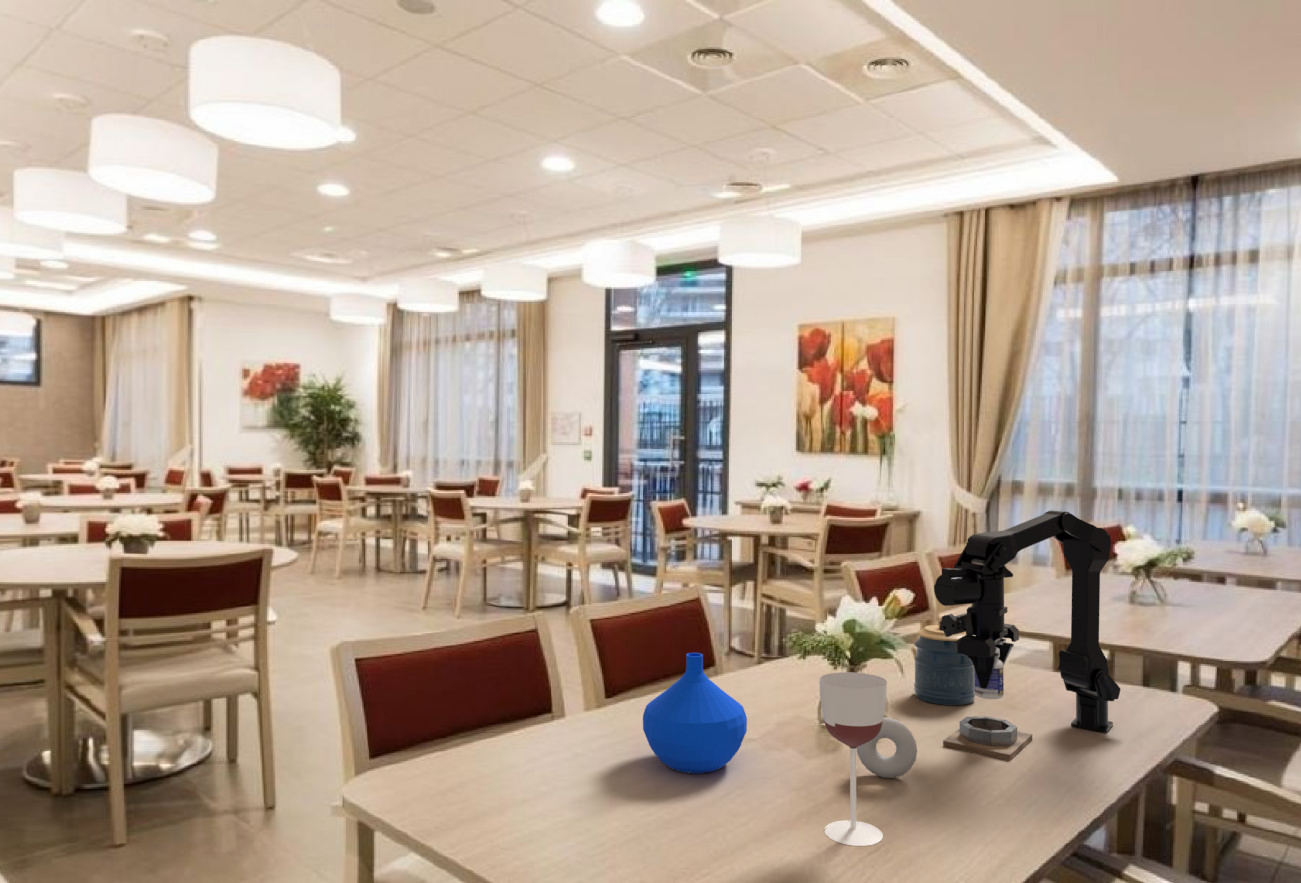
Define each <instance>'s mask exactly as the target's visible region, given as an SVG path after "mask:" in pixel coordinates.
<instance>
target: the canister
mask: <svg viewBox="0 0 1301 883" xmlns="http://www.w3.org/2000/svg"><path fill="white" fill-rule="evenodd" d="M941 619H942V618H940V619H939V620H938V622H937V624H931V625H926V626H924V627H923V628H922V629H920V630H919V631H917V634H918V636H919V637H918V638H917V639H916V640H915V641H914V642H913V645H914V647H915V648H916V651H915V655H916V657H915V655H914V657H913V660H914V683H913V686H914V687H913V690H914V694H915V697H916V698H918V699H919V700H922V701H924V702H926V703H931V704H935V705H943V706H963V705H968V704H972V703H973V702H974V701H975V699H976V698H975V697H976V695H975V694H974V665H973V663H972V660H971V659H970V658H969V657H967V656H966V655H964V654H959V653H956V652H955V642H956V641H957V640H958V639H960V638H961V637H963V636H965V635H966V632H962V633H958V634H953V635H952V636H949V637H945V634H944V632H943V631H942V630H940V629H939V627H940V621H941Z"/></svg>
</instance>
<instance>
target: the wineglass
mask: <svg viewBox="0 0 1301 883" xmlns="http://www.w3.org/2000/svg"><path fill="white" fill-rule="evenodd" d="M887 689H888V681H887V680H886V679H885V678H883V677H881V676H879V675H876V674H875V675H874V674H870V673H863V672H853V671H852V672H850V671H848V672H844V671H843V672H841V671H840V672H832V673H827V674H823V675H821V676H819V698H820V705H821V710H822V717H823V722H824V724H825V725H824V726H825V729H826V730H827V732H828V733H829V734H830V735H831V737H832V738H834V739H836V740H837V741H838V742H840V743H842V744H845V745H846V746H848V747H849V752H850V753H849V754H850V755H849V762H850V763H849V764H850V765H849V767H850V768H849V770H850V771H849V775H850V776H849V780H850V782H849V784H850V785H849V787H850V788H849V790H850V791H849V793H850V795H849V796H850V800H849V802H850V803H849V804H850V805H849V808H850V809H849V813H850V814H849V817H850V818H849V820H844V819H843V820H837V821H833V822H830V823H829V824H827V825H826V826H825V827H824V829H825V828H826V829H825V831H824V830H823V831H824V834H825V835H826V837H828V839H831V840H832V841H834V842H836V843H840V844H843V845H848V846H854V847H855V846H856V847H864V846H873V845H876V844H878V843H880V841H882V840H883V837H884V835H883V832H882V830H880V829H879V828H878V827H876V826H875V825H872V824H871V823H867V822H863V821H860V820H859V821H857V747H858V746H860V745H862V744H865V743H867V742H869V741H871V740H872V739H874V738H875V737H876V736H877V735H878V734H879V732H880V730H881V727H882V723H883V717H885V711H886V704H887V703H886V702H887V691H888V690H887Z"/></svg>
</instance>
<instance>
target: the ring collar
mask: <svg viewBox="0 0 1301 883" xmlns="http://www.w3.org/2000/svg"><path fill="white" fill-rule="evenodd" d="M959 729H960V736H962V737H963V738H964V739H966V740H967V741H969V742H972V743H977V744H982V745H986V746H1011V745H1012V744H1013V743H1015V742H1016V741H1017V731H1018V726H1017V725H1015V724H1014V723H1012V722H1011V721H1009V720H1007V719H1002V718H997V717H993V716H987V715H981V716H980V715H979V716H966V717H964V718H962V719H961V720H960V721H959Z"/></svg>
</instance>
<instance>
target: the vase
mask: <svg viewBox="0 0 1301 883" xmlns="http://www.w3.org/2000/svg"><path fill="white" fill-rule="evenodd" d="M685 656H686V659H685V660H686V662H685V663H686V664H685V666H686V667H685V672H684V673H683V675H682V676H681V677H680V678H679V679H678V680H676V681H675V683H673V684H672V685H671V686H669V687H668V688H667V689H666V690H664V691H663V692H661V693H660V694H659V695H658V696H656V697H655V698H654V699H652V700H651V701H649V702H648V703H647V704H646V706H645V708H644V712H643V716H642V730H643V733H644V735H645V737H646V740H647V742H648V746H649V748H650V749H651V750H652V752H653V753H654V755H655V756H656V757H657V758H658V760H659V761H661V763H663V764H665V765H666V766H667V767H668V766H669V767H668V768H670V769H671V768H673V769H672V770H674V769H675V771H676V770H679V771H678V772H680V771H682V772H681V773H685V772H690V773H689V774H705V773H704V772H707V773H711V772H710V771H712V772H715V771H718V770H720V769H721V768H723V767H724V766H725V765H726V764H728V763H729V762H731V760H732V759H733V758H734V757H735V756H736V754H737V752H738V751H739V750H740V748H741V746H742V743H743V741H744V738H745V735H746V733H747V731H748V730H747V728H748V727H747V725H748V718H747V717H748V716H747V713H746V711H745V709H744V706H743V705H742V704H741V703H739V701H737V700H736V699H735V698H734V697H732V696H730V695H729V694H728V693H727V692H725V691H724V690H723V689H721V688H720V687H719V686H718V685H717V684H715V683H714V682H713V681H712V680H711V679H709V677H708V676H707V674H705V672H704V653H703V654H702V653H700V652H689V653H686V655H685ZM717 769H718V770H717Z"/></svg>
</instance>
